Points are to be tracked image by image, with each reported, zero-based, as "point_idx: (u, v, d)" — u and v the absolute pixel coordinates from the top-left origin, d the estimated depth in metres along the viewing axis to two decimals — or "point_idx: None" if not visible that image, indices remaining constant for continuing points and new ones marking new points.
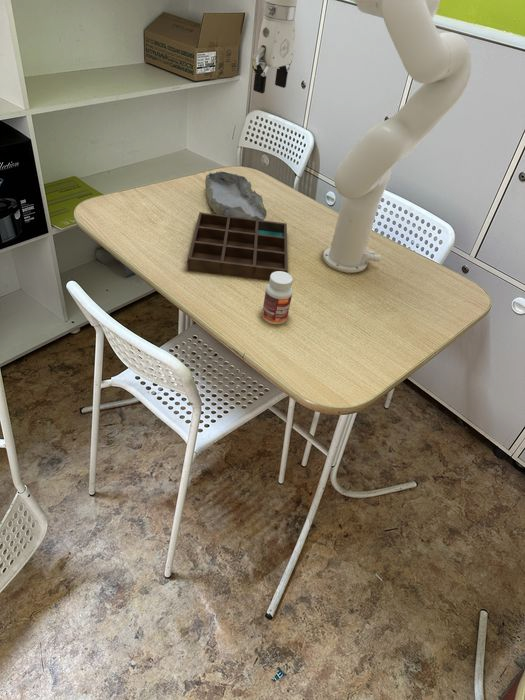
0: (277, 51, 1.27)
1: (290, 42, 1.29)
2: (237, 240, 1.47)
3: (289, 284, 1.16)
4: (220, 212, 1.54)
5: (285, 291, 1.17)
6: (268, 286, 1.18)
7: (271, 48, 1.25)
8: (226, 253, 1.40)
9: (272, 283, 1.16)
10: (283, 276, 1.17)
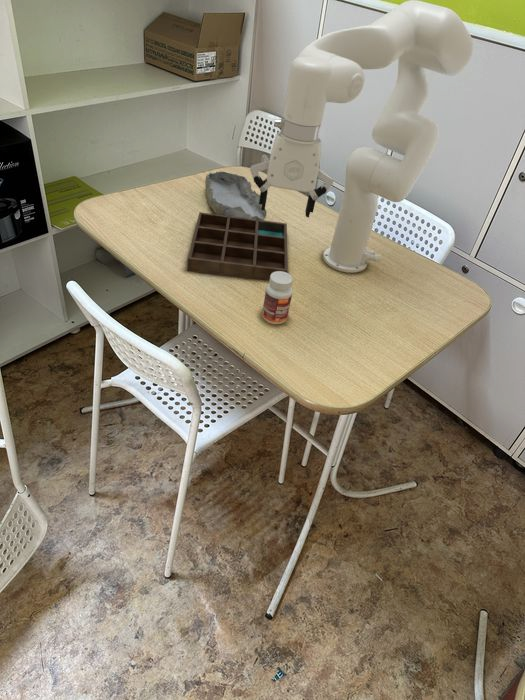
0: (279, 170, 1.04)
1: (306, 166, 1.03)
2: (237, 240, 1.47)
3: (289, 284, 1.16)
4: (220, 212, 1.54)
5: (285, 291, 1.17)
6: (268, 286, 1.18)
7: (270, 164, 1.04)
8: (226, 253, 1.40)
9: (272, 283, 1.16)
10: (283, 276, 1.17)
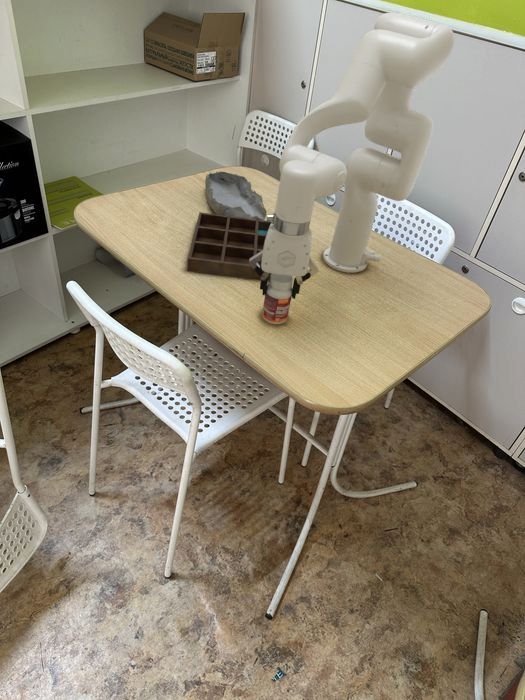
0: (272, 259, 1.11)
1: (298, 256, 1.10)
2: (237, 240, 1.47)
3: (289, 284, 1.16)
4: (220, 212, 1.54)
5: (285, 291, 1.17)
6: (268, 286, 1.18)
7: (263, 253, 1.10)
8: (226, 253, 1.40)
9: (272, 283, 1.16)
10: (283, 276, 1.17)
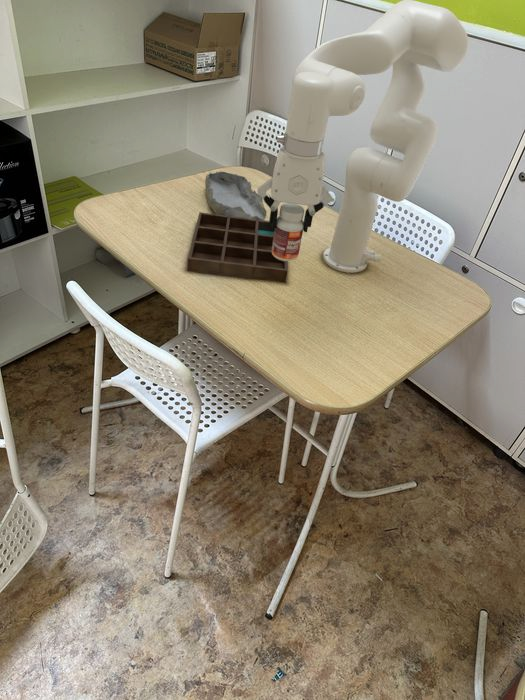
0: (283, 185, 1.03)
1: (311, 181, 1.03)
2: (237, 240, 1.47)
3: (301, 215, 1.09)
4: (220, 212, 1.54)
5: (296, 223, 1.10)
6: (278, 219, 1.11)
7: (273, 179, 1.03)
8: (226, 253, 1.40)
9: (283, 215, 1.09)
10: (293, 208, 1.10)
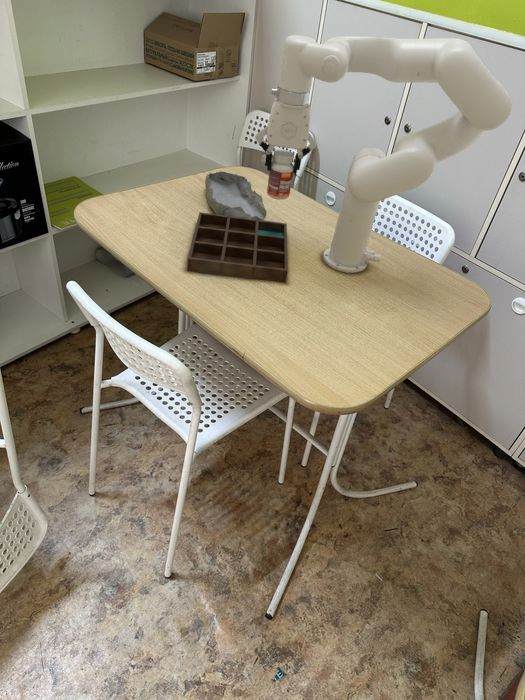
0: (276, 131, 1.26)
1: (299, 127, 1.25)
2: (237, 240, 1.47)
3: (291, 158, 1.31)
4: (220, 212, 1.54)
5: (287, 165, 1.32)
6: (272, 162, 1.33)
7: (268, 126, 1.25)
8: (226, 253, 1.40)
9: (276, 158, 1.31)
10: (285, 153, 1.32)
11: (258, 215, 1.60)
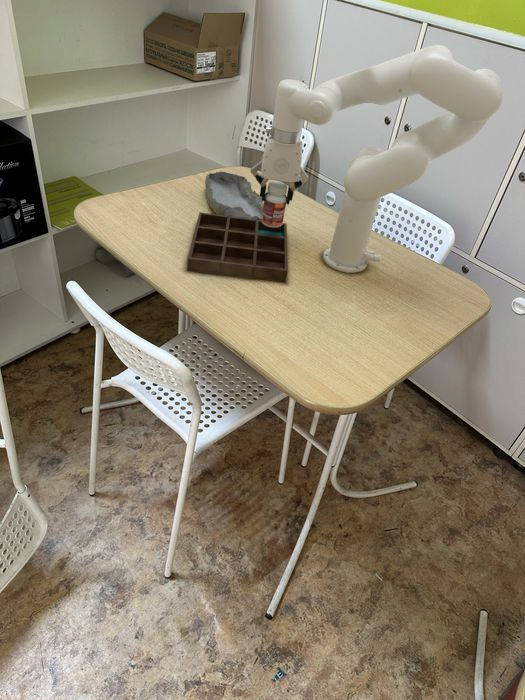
0: (270, 166, 1.34)
1: (291, 163, 1.34)
2: (237, 240, 1.47)
3: (284, 190, 1.40)
4: (220, 212, 1.54)
5: (281, 197, 1.41)
6: (266, 193, 1.42)
7: (263, 161, 1.34)
8: (226, 253, 1.40)
9: (270, 190, 1.40)
10: (279, 185, 1.41)
11: (258, 215, 1.60)
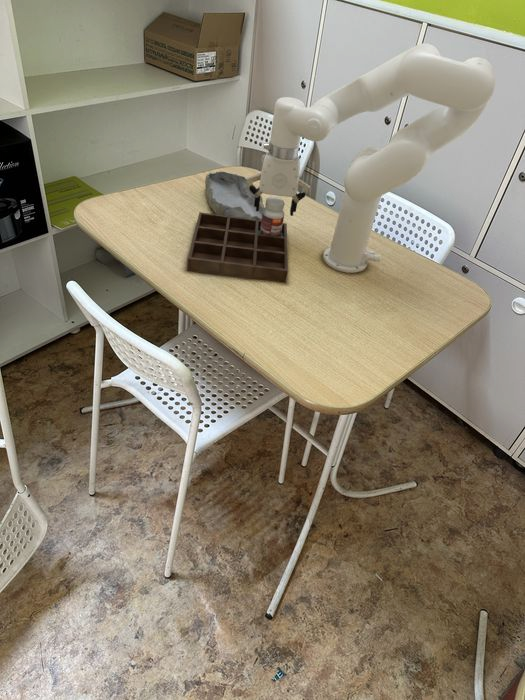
0: (268, 181, 1.37)
1: (289, 178, 1.36)
2: (237, 240, 1.47)
3: (281, 206, 1.43)
4: (220, 212, 1.54)
5: (278, 212, 1.44)
6: (264, 209, 1.45)
7: (261, 176, 1.37)
8: (226, 253, 1.40)
9: (268, 205, 1.43)
10: (276, 200, 1.44)
11: (258, 215, 1.60)
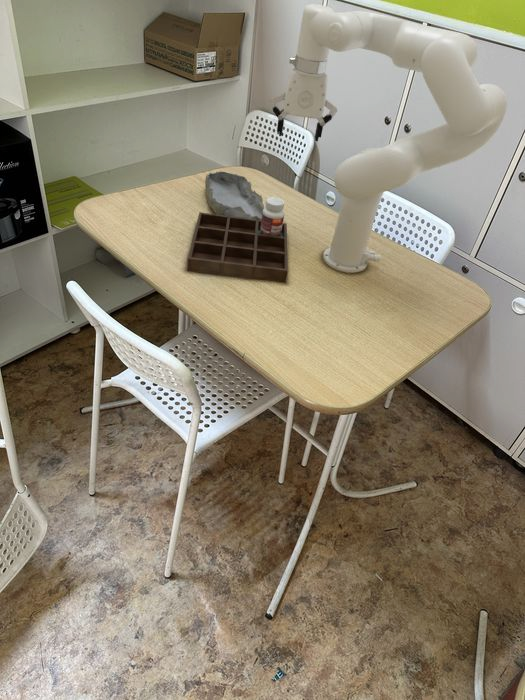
0: (293, 99, 1.29)
1: (316, 96, 1.28)
2: (237, 240, 1.47)
3: (281, 206, 1.43)
4: (220, 212, 1.54)
5: (278, 212, 1.44)
6: (264, 209, 1.45)
7: (286, 95, 1.29)
8: (226, 253, 1.40)
9: (268, 205, 1.43)
10: (276, 200, 1.44)
11: (258, 215, 1.60)
